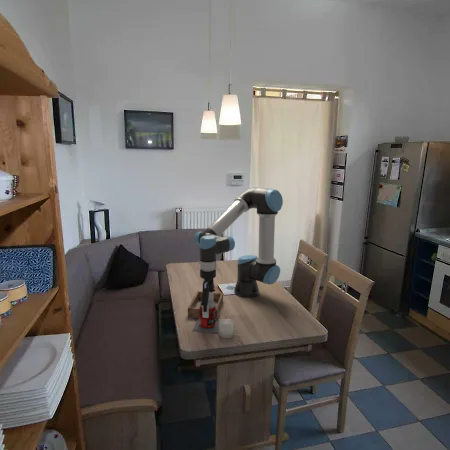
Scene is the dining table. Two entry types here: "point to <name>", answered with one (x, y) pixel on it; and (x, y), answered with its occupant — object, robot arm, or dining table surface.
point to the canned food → (210, 320)
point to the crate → (195, 312)
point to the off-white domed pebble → (226, 328)
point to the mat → (200, 329)
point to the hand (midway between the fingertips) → (208, 310)
